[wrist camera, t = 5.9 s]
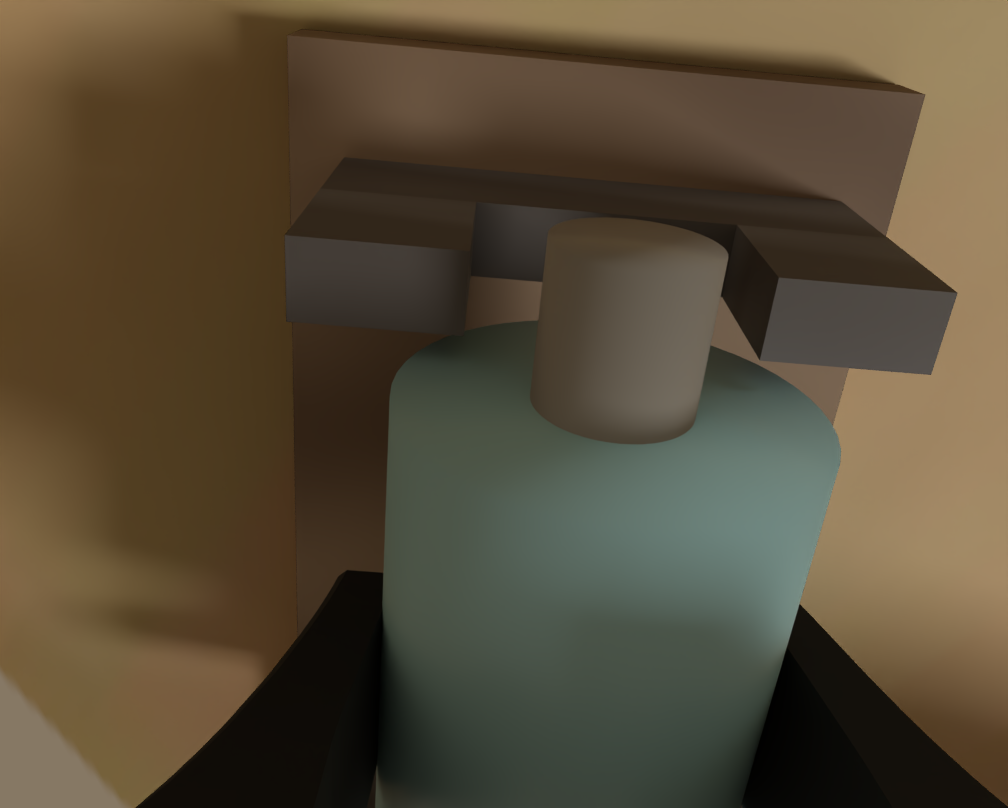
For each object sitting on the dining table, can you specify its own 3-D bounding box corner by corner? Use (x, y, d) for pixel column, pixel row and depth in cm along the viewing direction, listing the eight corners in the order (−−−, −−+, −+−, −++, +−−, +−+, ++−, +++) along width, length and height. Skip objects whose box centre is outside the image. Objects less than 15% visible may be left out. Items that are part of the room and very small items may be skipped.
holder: (721, 752, 20) (780, 981, 16) (309, 724, 20) (250, 951, 15) (899, 84, 14) (1080, 153, 10) (302, 28, 14) (200, 72, 9)
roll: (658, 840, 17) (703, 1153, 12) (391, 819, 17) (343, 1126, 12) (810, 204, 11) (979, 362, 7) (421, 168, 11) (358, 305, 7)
